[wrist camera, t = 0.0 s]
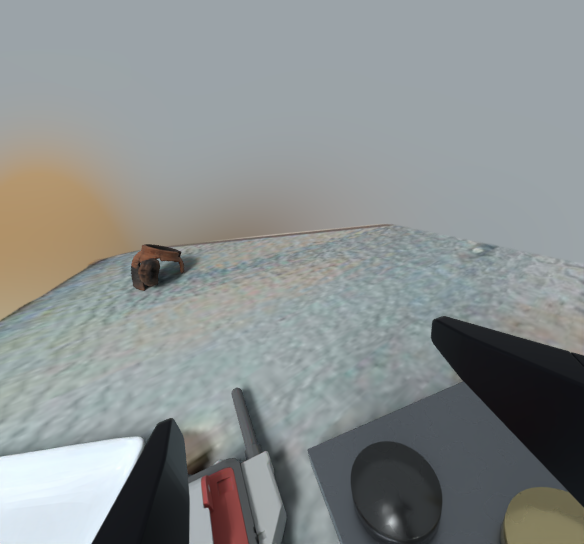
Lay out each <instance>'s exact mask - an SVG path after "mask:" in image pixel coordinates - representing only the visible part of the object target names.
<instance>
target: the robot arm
mask: <svg viewBox="0 0 584 544" xmlns="http://www.w3.org/2000/svg"><path fill="white" fill-rule="evenodd" d="M431 339H432V342H433V344H434V345H435V346H436V348H437V349H438V350H439V351H440V353H441V354H442V355H443V357H444V358H445V359H446V360H447V362H448V363H449V364H450V365H451V367H452V368H453V369H454V371H455V372H456V373H457V374H458V375H459V377H460V378H461V379H462V380H463V381H464V382H465V383H466V385H467V386H468V387H469V388H470V389H471V390H472V391H473V392H474V393H475V394H476V395H477V396H478V397H479V398H480V399H481V400H482V401H483V402H484V404H485V405H486V406H487V407H488V408H489V409H490V410H491V411H492V412H493V413H494V414H495V415H496V416H497V417H498V418H499V419H500V420H501V421H502V422H503V423H504V425H505V426H506V427H507V428H508V429H509V430H510V431H511V432H512V433H513V434H514V435H515V436H516V437H517V438H518V439H519V440H520V441H521V442H522V443H523V444H524V446H525V447H526V448H527V449H528V450H529V451H530V452H531V453H532V454H533V455H534V456H535V457H536V458H537V459H538V460H539V461H540V462H541V463H542V464H543V465H544V467H545V468H546V469H547V470H548V471H549V472H550V473H551V474H552V475H553V476H554V477H555V478H556V479H557V480H558V481H559V482H560V483H561V484H562V485H563V487H564V488H565V489H566V490H567V491H568V492H569V493H570V494H571V495H572V496H573V497H574V498H575V499H576V500H577V501H578V502H579V503H580V504H581V505H582V506H583V508H584V356H583V355H580V354H576V353H570V352H569V351H566V350H562V349H559V348H555V347H551V346H548V345H544V344H541V343H537V342H534V341H530V340H527V339H523V338H520V337H516V336H513V335H509V334H506V333H502V332H499V331H495V330H492V329H488V328H485V327H481V326H478V325H474V324H471V323H467V322H464V321H460V320H457V319H453V318H450V317H446V316H442V317H439V318H436V319H434V320H433V321H432V331H431ZM189 532H190V495H189V484H188V473H187V463H186V453H185V443H184V438H183V435H182V433H181V431H180V429H179V427H178V425H177V424H176V422H175V420H174V419H173V418H170V419H167V420H164V421H162V422H159V423H158V424H157V426H156V427H155V429H154V431H153V433H152V434H151V436H150V438H149V440H148V442H147V444H146V445H145V447H144V449H143V451H142V453H141V454H140V456H139V458H138V460H137V462H136V464H135V465H134V467H133V469H132V471H131V473H130V474H129V476H128V478H127V480H126V482H125V483H124V485H123V487H122V489H121V491H120V493H119V494H118V496H117V498H116V500H115V502H114V503H113V505H112V507H111V509H110V511H109V513H108V514H107V516H106V518H105V520H104V522H103V523H102V525H101V527H100V529H99V531H98V532H97V534H96V536H95V538H94V540H93V542H92V543H91V544H189Z"/></svg>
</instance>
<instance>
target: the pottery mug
mask: <svg viewBox="0 0 584 544" xmlns="http://www.w3.org/2000/svg"><path fill="white" fill-rule="evenodd" d="M180 255H181V252H180V251H178V250H176V249H173V248H169V247H164V246H159V245H150V244H146V245H142V250H141V251H140V252H138V253H137V254H136V255H135V257H134V258H133V260H132V264H131V265H132V266H131V271H132V272H131V274H132V276H131V277H132V280H133V286H134V287H135V288H136V289H139V290H143V291H144V290H145V286H144V284H145V285H147V286H150V287H151V286H154V285H157V284H158V274H159V269H160V264H159V261H158V260H157V259H159V258H160V260H161V261H174V262H179V264H180V272H181V273H183V272H184V264H183V261H182V259H181V258H180ZM140 263H141V265H140Z"/></svg>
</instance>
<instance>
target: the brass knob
mask: <svg viewBox="0 0 584 544" xmlns="http://www.w3.org/2000/svg"><path fill="white" fill-rule="evenodd" d="M501 544H584V508H583V506H582V505H581V504H580V503H579V502H578V501H577V500H576V499H575V498H574V497H573V496H572V495H571V494H570V493H569V492H567V491H563V490H560V489H555V488H549V487H534V488H529V489H526V490H524V491H521V492H520V493H518V494H517V495H516V496H515V497H514V498H513V499H512V500H511V502H510V504H509V505H508V508H507V511H506V514H505V517H504V520H503V523H502V526H501Z"/></svg>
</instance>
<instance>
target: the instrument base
mask: <svg viewBox="0 0 584 544" xmlns="http://www.w3.org/2000/svg"><path fill="white" fill-rule="evenodd" d="M308 454H309V458H310V462H311V466H312V468H313V471H314V474H315V476H316V479H317V482H318V484H319V487H320V490H321V493H322V495H323V498H324V501H325V503H326V506H327V509H328V511H329V514H330V517H331V519H332V522H333V525H334V527H335V530H336V533H337V535H338V538H339V541H340V543H341V544H501V526H502V523H503V520H504V517H505V514H506V511H507V508H508V505H509V504H510V502H511V500H512V499H513V498H514V497H515V496H516V495H517V494H518V493H520V492H521V491H524V490H526V489H529V488H534V487H549V488H555V489H560V490H563V491H567V490H566V489H565V488H564V487H563V485H562V484H561V483H560V482H559V481H558V480H557V479H556V478H555V477H554V476H553V475H552V474H551V473H550V472H549V471H548V470H547V469H546V468H545V467H544V465H543V464H542V463H541V462H540V461H539V460H538V459H537V458H536V457H535V456H534V455H533V454H532V453H531V452H530V451H529V450H528V449H527V448H526V447H525V446H524V444H523V443H522V442H521V441H520V440H519V439H518V438H517V437H516V436H515V435H514V434H513V433H512V432H511V431H510V430H509V429H508V428H507V427H506V426H505V425H504V423H503V422H502V421H501V420H500V419H499V418H498V417H497V416H496V415H495V414H494V413H493V412H492V411H491V410H490V409H489V408H488V407H487V406H486V405H485V404H484V402H483V401H482V400H481V399H480V398H479V397H478V396H477V395H476V394H475V393H474V392H473V391H472V390H471V389H470V388H469V387H468V386H467V385H466V383H465V382H461V383H459V384H457V385H454V386H452V387H450V388H447V389H445V390H443V391H441V392H438V393H436V394H434V395H431V396H429V397H427V398H425V399H422V400H420V401H418V402H415V403H413V404H411V405H408V406H406V407H404V408H402V409H399V410H397V411H395V412H392V413H390V414H388V415H386V416H383V417H381V418H379V419H376V420H374V421H372V422H369V423H367V424H365V425H363V426H360V427H358V428H356V429H353V430H351V431H349V432H347V433H344V434H342V435H340V436H337V437H335V438H333V439H331V440H328V441H326V442H324V443H321V444H319V445H317V446H314V447H312V448H310V449H308ZM567 492H568V491H567Z"/></svg>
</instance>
